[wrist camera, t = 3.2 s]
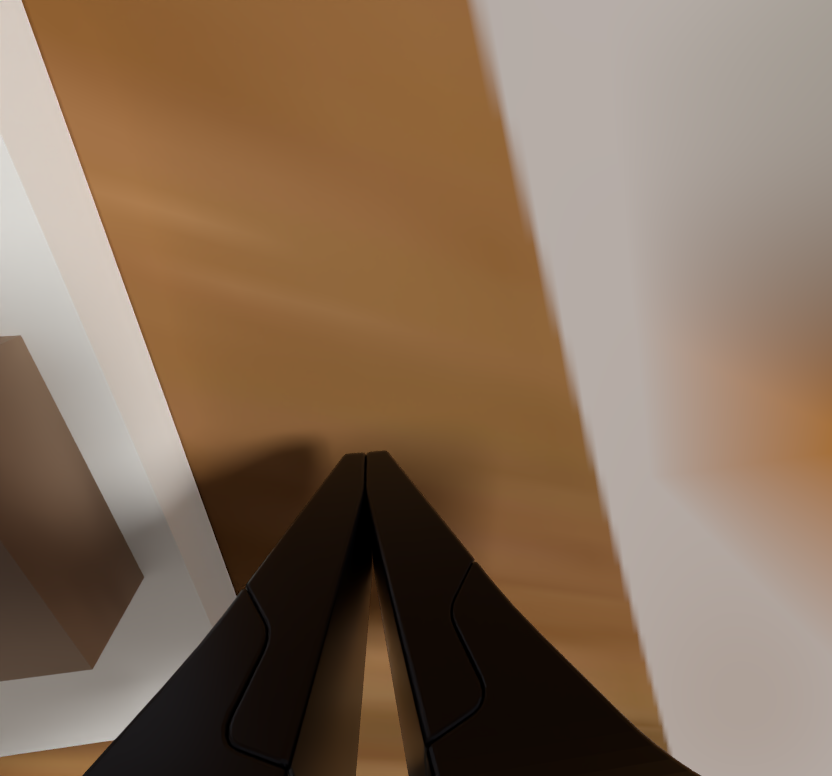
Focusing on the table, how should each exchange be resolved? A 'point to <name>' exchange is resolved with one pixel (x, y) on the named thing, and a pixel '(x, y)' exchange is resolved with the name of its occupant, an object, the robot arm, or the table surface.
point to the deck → (95, 417)
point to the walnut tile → (52, 536)
